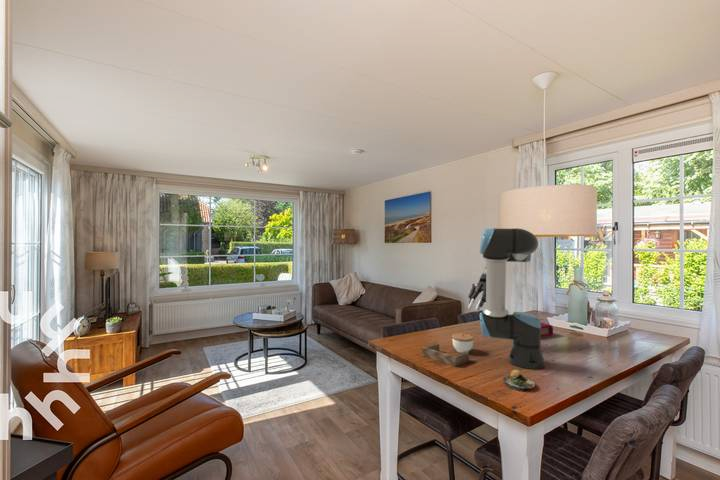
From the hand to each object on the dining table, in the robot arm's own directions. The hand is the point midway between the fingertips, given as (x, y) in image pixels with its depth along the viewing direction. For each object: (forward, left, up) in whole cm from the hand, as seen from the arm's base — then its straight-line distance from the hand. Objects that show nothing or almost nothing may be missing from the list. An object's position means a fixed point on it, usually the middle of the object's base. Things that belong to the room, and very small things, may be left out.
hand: (473, 310), depth 179 cm
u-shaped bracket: (0, +27, -20) cm, 34 cm away
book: (-4, -53, -21) cm, 57 cm away
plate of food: (-37, +29, -21) cm, 51 cm away
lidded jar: (0, +10, -20) cm, 23 cm away
